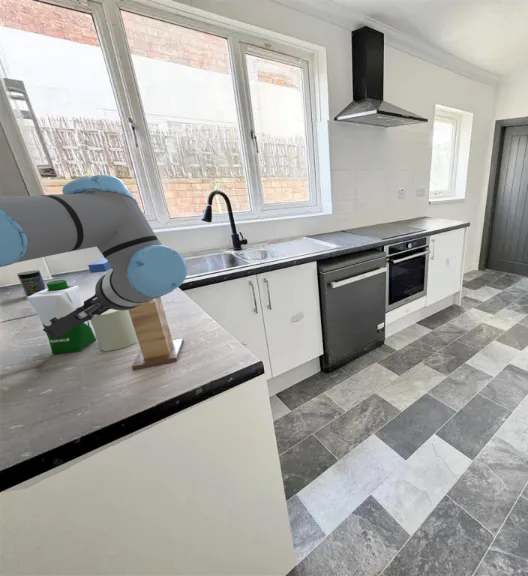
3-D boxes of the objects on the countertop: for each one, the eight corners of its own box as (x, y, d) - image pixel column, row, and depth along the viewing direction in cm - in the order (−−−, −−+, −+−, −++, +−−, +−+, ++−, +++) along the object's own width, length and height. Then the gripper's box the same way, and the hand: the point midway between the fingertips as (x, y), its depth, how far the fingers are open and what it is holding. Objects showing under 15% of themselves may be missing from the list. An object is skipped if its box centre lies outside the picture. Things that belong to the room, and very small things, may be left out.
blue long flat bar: (114, 270, 62) (111, 262, 61) (82, 273, 60) (79, 265, 59) (148, 246, 84) (146, 241, 84) (125, 248, 82) (123, 242, 82)
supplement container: (49, 294, 139) (40, 271, 135) (27, 298, 134) (17, 275, 130) (47, 291, 143) (38, 269, 139) (25, 295, 138) (16, 273, 134)
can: (128, 333, 101) (117, 299, 97) (144, 339, 97) (133, 304, 93) (93, 346, 93) (80, 310, 89) (109, 353, 89) (96, 316, 85)
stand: (174, 369, 81) (142, 258, 71) (127, 378, 78) (88, 263, 68) (184, 340, 96) (159, 245, 86) (145, 347, 92) (115, 248, 82)
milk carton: (101, 338, 98) (79, 278, 92) (81, 352, 90) (56, 288, 83) (69, 341, 97) (44, 280, 90) (45, 356, 88) (17, 291, 82)
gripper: (72, 352, 48) (43, 361, 60) (197, 266, 66) (156, 286, 78) (26, 317, 45) (5, 333, 57) (171, 236, 63) (133, 261, 75)
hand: (93, 306), depth 67 cm, fingers open, 13 cm apart
